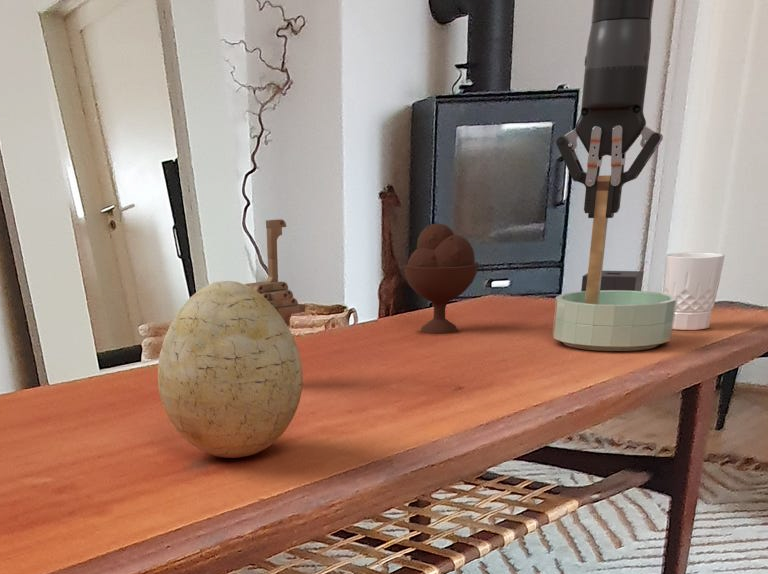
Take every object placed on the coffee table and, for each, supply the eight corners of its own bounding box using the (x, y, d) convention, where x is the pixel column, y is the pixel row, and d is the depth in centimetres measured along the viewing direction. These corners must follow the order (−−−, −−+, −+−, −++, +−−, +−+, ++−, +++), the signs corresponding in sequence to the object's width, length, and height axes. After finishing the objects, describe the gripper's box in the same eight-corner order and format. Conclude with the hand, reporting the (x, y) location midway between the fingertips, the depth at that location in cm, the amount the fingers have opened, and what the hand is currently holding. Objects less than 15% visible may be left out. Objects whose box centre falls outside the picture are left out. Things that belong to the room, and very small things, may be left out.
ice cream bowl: (397, 335, 144) (399, 226, 137) (411, 324, 154) (413, 221, 147) (468, 337, 141) (474, 225, 134) (478, 325, 151) (484, 220, 144)
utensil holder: (638, 309, 161) (643, 271, 158) (631, 316, 154) (636, 276, 151) (588, 308, 164) (592, 270, 161) (578, 314, 157) (582, 275, 155)
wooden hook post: (271, 376, 120) (266, 218, 112) (308, 383, 115) (305, 219, 107) (159, 399, 110) (145, 227, 102) (195, 408, 105) (183, 229, 97)
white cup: (670, 321, 149) (679, 251, 144) (721, 325, 144) (733, 253, 139) (647, 328, 144) (656, 256, 139) (700, 332, 139) (711, 258, 134)
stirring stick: (597, 319, 134) (612, 175, 126) (594, 321, 132) (610, 175, 124) (585, 319, 134) (599, 175, 126) (582, 320, 133) (597, 175, 125)
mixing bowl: (676, 336, 137) (683, 291, 134) (662, 355, 124) (669, 307, 122) (564, 331, 143) (569, 289, 140) (540, 349, 131) (544, 303, 128)
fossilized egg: (241, 430, 96) (233, 269, 90) (333, 453, 88) (331, 278, 81) (136, 456, 89) (119, 283, 82) (225, 484, 80) (214, 294, 74)
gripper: (678, 63, 120) (659, 215, 128) (566, 70, 126) (554, 216, 133) (671, 59, 114) (651, 219, 122) (554, 67, 120) (541, 219, 127)
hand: (600, 217), depth 127 cm, fingers closed on stirring stick, 1 cm apart
